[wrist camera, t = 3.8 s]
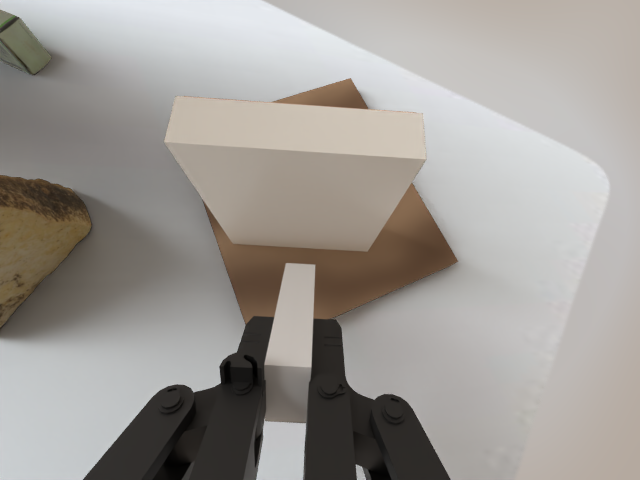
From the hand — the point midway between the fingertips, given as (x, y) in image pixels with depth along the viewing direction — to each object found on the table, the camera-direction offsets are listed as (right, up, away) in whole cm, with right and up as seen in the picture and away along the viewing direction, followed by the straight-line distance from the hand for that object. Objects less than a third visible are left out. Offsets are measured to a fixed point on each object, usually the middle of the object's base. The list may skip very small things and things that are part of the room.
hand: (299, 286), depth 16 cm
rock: (-20, +1, +7) cm, 21 cm away
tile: (0, +3, +7) cm, 8 cm away
